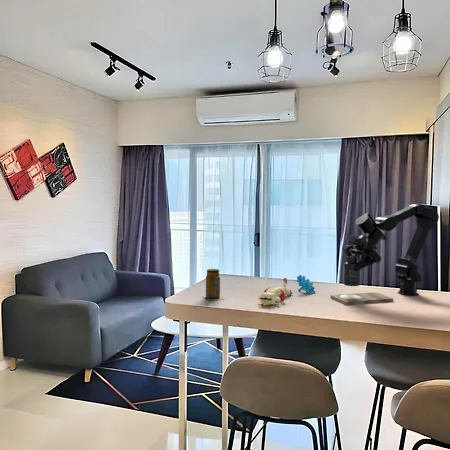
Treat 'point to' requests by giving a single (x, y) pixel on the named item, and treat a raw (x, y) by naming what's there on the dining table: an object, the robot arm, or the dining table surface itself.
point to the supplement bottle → (351, 272)
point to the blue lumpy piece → (305, 284)
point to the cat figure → (275, 294)
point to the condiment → (213, 285)
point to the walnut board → (361, 298)
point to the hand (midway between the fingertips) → (349, 269)
